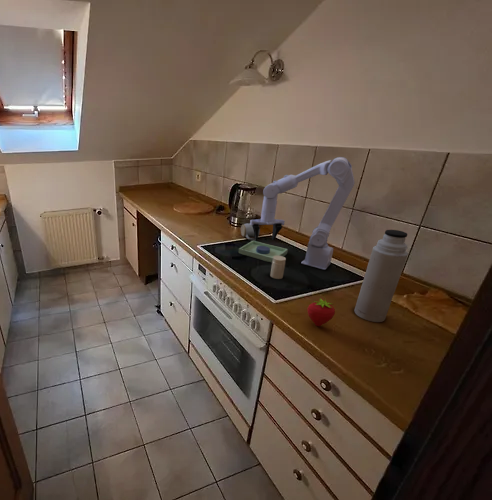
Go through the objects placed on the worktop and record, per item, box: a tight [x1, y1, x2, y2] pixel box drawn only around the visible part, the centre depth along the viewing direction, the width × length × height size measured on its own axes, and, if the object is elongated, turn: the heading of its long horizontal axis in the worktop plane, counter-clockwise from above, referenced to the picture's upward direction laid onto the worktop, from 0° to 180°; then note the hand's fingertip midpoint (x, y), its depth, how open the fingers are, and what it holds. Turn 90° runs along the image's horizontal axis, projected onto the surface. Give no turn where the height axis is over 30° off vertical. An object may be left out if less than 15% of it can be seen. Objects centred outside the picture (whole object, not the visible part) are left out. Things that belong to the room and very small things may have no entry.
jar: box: [269, 256, 287, 280], centre depth 118 cm, size 5×5×8 cm
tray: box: [238, 240, 289, 264], centre depth 140 cm, size 17×14×2 cm
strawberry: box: [306, 297, 336, 327], centre depth 88 cm, size 6×8×10 cm
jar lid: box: [256, 246, 270, 254], centre depth 140 cm, size 6×6×2 cm
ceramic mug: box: [240, 222, 261, 242], centre depth 158 cm, size 11×8×8 cm
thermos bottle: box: [354, 229, 409, 323], centre depth 89 cm, size 8×8×28 cm
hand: (264, 239), depth 138 cm, fingers open, 7 cm apart
